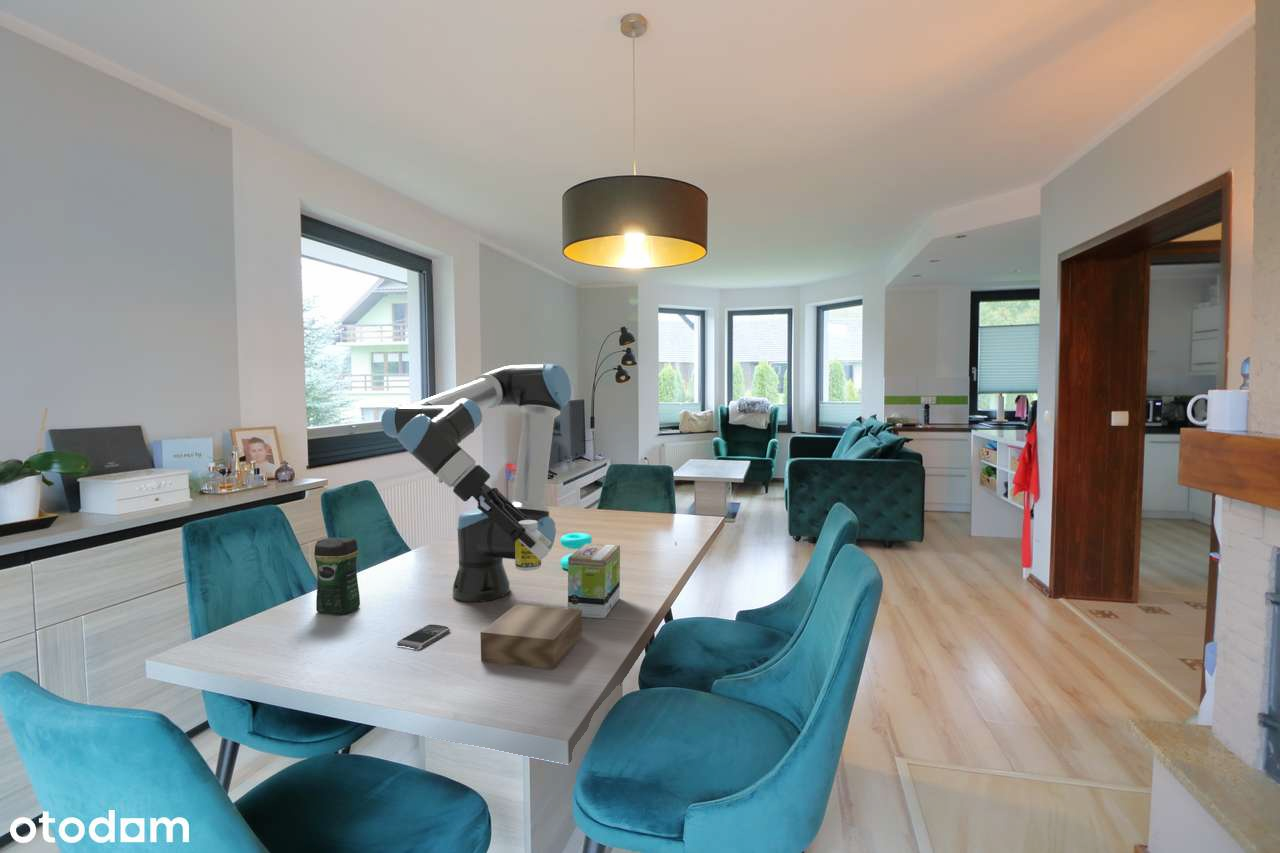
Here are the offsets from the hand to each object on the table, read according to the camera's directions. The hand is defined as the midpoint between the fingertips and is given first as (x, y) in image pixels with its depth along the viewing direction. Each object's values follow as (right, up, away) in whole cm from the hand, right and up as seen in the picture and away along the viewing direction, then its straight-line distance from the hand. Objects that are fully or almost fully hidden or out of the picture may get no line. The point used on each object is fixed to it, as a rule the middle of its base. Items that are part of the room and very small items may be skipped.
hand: (545, 551), depth 121 cm
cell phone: (-28, -22, +7) cm, 36 cm away
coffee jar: (-57, -21, +24) cm, 65 cm away
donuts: (0, -18, +60) cm, 63 cm away
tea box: (+8, -20, +25) cm, 33 cm away
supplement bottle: (-4, -4, 0) cm, 5 cm away
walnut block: (-3, -21, +1) cm, 21 cm away
